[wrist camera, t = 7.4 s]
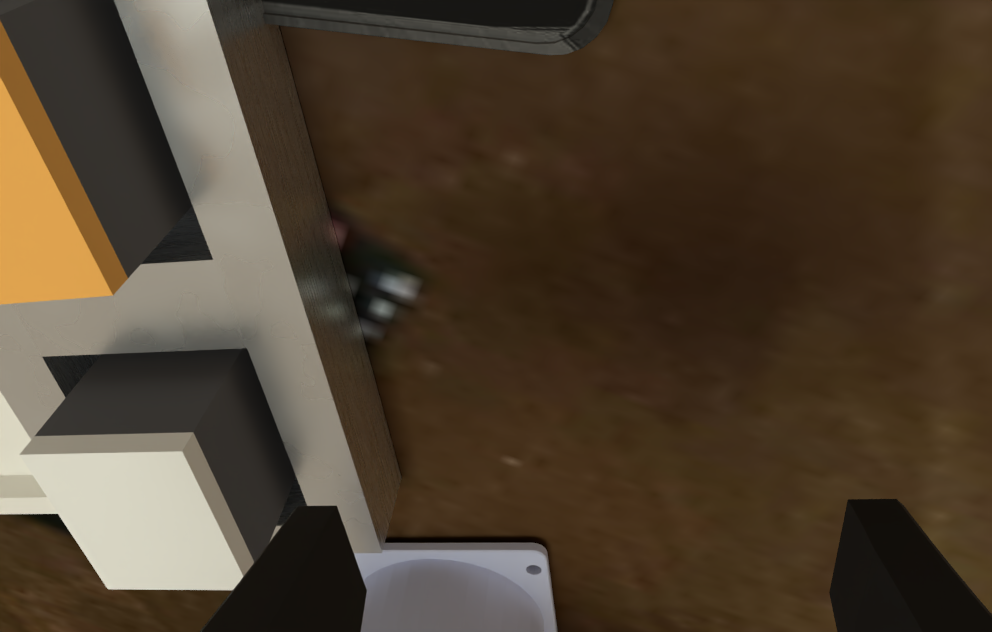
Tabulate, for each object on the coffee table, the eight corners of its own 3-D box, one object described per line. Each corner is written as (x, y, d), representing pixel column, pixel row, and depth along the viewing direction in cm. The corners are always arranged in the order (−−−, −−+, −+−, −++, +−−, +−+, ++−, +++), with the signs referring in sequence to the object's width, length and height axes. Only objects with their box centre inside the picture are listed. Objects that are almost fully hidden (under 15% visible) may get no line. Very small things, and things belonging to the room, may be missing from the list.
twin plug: (307, 447, 24) (250, 590, 20) (187, 450, 25) (107, 589, 21) (260, 317, 21) (182, 451, 17) (126, 323, 22) (18, 454, 18)
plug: (216, 178, 19) (113, 295, 15) (69, 194, 20) (-70, 309, 15) (131, -42, 16) (-26, 26, 12) (-38, -16, 17) (-243, 58, 13)
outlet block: (401, 477, 25) (381, 553, 23) (147, 480, 27) (103, 553, 24) (226, -165, 15) (157, -152, 13) (-173, -109, 16) (-303, -86, 14)
